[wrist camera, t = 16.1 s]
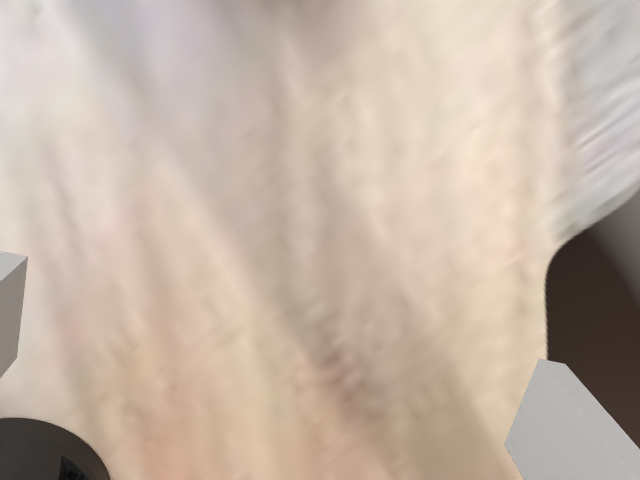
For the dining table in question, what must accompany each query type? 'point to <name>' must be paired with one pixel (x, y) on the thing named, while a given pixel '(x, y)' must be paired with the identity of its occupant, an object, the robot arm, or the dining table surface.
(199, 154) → the dining table surface
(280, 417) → the dining table surface
